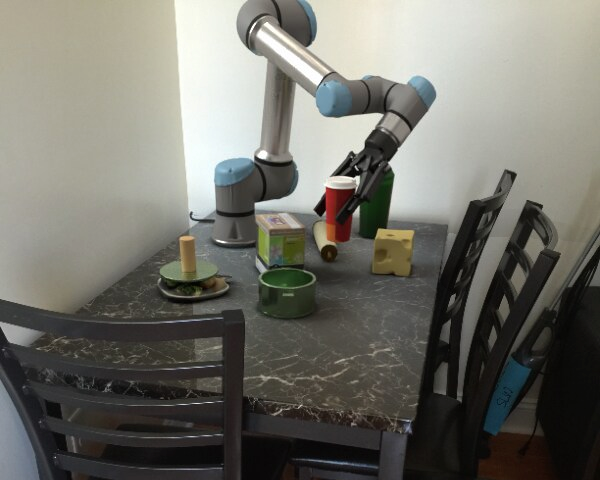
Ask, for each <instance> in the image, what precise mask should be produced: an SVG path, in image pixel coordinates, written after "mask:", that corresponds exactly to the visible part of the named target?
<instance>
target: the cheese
mask: <svg viewBox="0 0 600 480" xmlns="http://www.w3.org/2000/svg"><path fill="white" fill-rule="evenodd" d="M414 247H415V230H414V229H388V228H387V229H378V231H377V235H376V238H374V243H373V255H372V274H377V275H378V274H380V275H390V274H393V275H395V276H400V277H410V273H411V265H412V259H413V254H414Z"/></svg>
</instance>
